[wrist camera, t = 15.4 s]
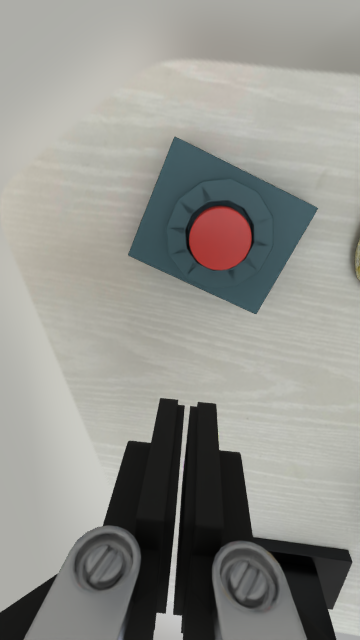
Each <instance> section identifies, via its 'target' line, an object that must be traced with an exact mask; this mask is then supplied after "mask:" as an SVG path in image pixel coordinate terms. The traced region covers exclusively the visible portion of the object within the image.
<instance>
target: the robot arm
mask: <svg viewBox="0 0 360 640" xmlns="http://www.w3.org/2000/svg"><path fill="white" fill-rule="evenodd" d="M184 408H185V406H184V405H178V400H174V399H164V398H160V402H159V407H158V412H157V416H156V421H155V426H154V431H153V436H152V441H151V443H146V442H137V441H128V443H127V446H126V449H125V453H124V456H123V460H122V463H121V466H120V470H119V473H118V476H117V480H116V483H115V487H114V490H113V493H112V497H111V500H110V504H109V507H108V510H107V514H106V517H105V520H104V524H103V526H102V527H97V528H95V529H93V530H90V531H88V532H87V533H85V534H84V535H83V536H82V537H81V538H79V539H78V540H77V542H76V543H75V544H74V546H73V547H72V549H71V550H70V552H69V554H68V556H67V558H66V560H65V562H64V564H63V565H62V567H61V569H60V571H59V573H58V574H56V575H55V576H54V577H52V578H51V579H49V580H48V581H46V582H45V583H43V584H42V585H41V586H39V587H37V588H36V589H34V590H33V591H31V592H30V593H28V594H27V595H25V596H24V597H22V598H21V599H20V600H18V601H17V602H15V603H14V604H12V605H11V606H9V607H8V608H6V609H5V610H3V611H2V612H0V640H153V634H154V630H155V621H156V613H166V606H167V596H168V586H169V576H170V567H171V557H172V547H173V537H174V527H175V516H176V505H177V493H178V481H179V469H180V457H181V444H182V432H183V420H184ZM173 614H174V615H182V627H181V633H183V640H330V639H329V638H328V637H327V636H326V635H325V634H324V633H323V632H322V631H321V630H320V629H319V628H318V627H317V626H316V625H315V624H314V623H313V622H312V621H311V620H310V619H309V618H308V617H307V616H306V615H305V614H304V613H303V612H302V611H301V610H300V609H299V608H298V607H297V606H296V605H295V603H294V601H293V598H292V595H291V592H290V589H289V586H288V583H287V580H286V578H285V575H284V573H283V571H282V569H281V567H280V565H279V563H278V562H277V560H276V559H275V558H274V557H273V556H272V555H271V553H269V552H268V551H267V550H265V549H264V548H263V547H261V546H259V545H257V544H255V543H254V542H253V535H252V528H251V521H250V514H249V507H248V500H247V493H246V486H245V479H244V473H243V466H242V459H241V454H240V452H231V451H221V450H219V441H218V425H217V409H216V404H213V403H203V402H198V404H197V407H194V406H190V414H189V424H188V433H187V442H186V452H185V461H184V471H183V481H182V494H181V508H180V523H179V537H178V552H177V566H176V580H175V595H174V609H173Z"/></svg>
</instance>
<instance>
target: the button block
mask: <svg viewBox="0 0 360 640" xmlns="http://www.w3.org/2000/svg"><path fill="white" fill-rule="evenodd" d="M213 206H228V207H231V208H233V209H235V210H237V211H238V212H239V213H240V214H241V215H242V216H243V217H244V218H245V219H246V220H247V222H248V224H249V226H250V229H251V235H252V241H251V246H250V249H249V252H248V254H247V255H246V257H245V258H244V259H243V260H242V261H241V262H240V263H239V264H238V265H236V266H234V267H232V268H230V269H226V270H213V269H209V268H207V267H205V266H203V265H202V264H200V263H199V262H198V261H197V260H196V258H195V257H194V255H193V254H192V251H191V249H190V244H189V236H190V231H191V228H192V225H193V223H194V221H195V219H196V218H197V217H198V216H199V214H200V213H202V212H203V211H204V210H206V209H208V208H210V207H213ZM317 209H318V208H317V207H315V206H313V205H311V204H309V203H307V202H305V201H303V200H301V199H299V198H297V197H295V196H293V195H291V194H289V193H287V192H285V191H283V190H281V189H279V188H277V187H275V186H273V185H271V184H269V183H267V182H265V181H263V180H261V179H259V178H257V177H255V176H253V175H251V174H249V173H247V172H245V171H243V170H241V169H239V168H237V167H235V166H233V165H231V164H229V163H227V162H225V161H223V160H221V159H219V158H217V157H215V156H213V155H211V154H209V153H207V152H205V151H203V150H201V149H199V148H197V147H195V146H193V145H191V144H189V143H187V142H185V141H183V140H181V139H179V138H177V137H174V139H173V142H172V144H171V147H170V149H169V152H168V154H167V157H166V160H165V162H164V165H163V167H162V170H161V172H160V175H159V177H158V180H157V182H156V185H155V188H154V190H153V193H152V195H151V198H150V200H149V203H148V205H147V208H146V211H145V213H144V216H143V218H142V221H141V223H140V226H139V228H138V231H137V233H136V236H135V239H134V241H133V244H132V246H131V249H130V251H129V254H128V255H129V256H131V257H133V258H135V259H137V260H139V261H141V262H144V263H146V264H148V265H150V266H152V267H154V268H157V269H159V270H161V271H163V272H165V273H167V274H170V275H172V276H174V277H176V278H178V279H180V280H183V281H185V282H187V283H189V284H191V285H193V286H196V287H198V288H200V289H202V290H204V291H206V292H209V293H211V294H213V295H215V296H217V297H219V298H222V299H224V300H226V301H228V302H230V303H232V304H235V305H237V306H239V307H241V308H243V309H245V310H248V311H250V312H252V313H254V314H257V312H258V310H259V308H260V307H261V305H262V303H263V302H264V300H265V298H266V297H267V295H268V293H269V291H270V290H271V288H272V286H273V285H274V283H275V281H276V279H277V278H278V276H279V274H280V273H281V271H282V269H283V268H284V266H285V264H286V262H287V261H288V259H289V257H290V256H291V254H292V252H293V250H294V249H295V247H296V245H297V244H298V242H299V240H300V238H301V237H302V235H303V233H304V232H305V230H306V228H307V227H308V225H309V223H310V221H311V220H312V218H313V216H314V215H315V213H316V211H317Z"/></svg>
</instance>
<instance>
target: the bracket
mask: <svg viewBox="0 0 360 640" xmlns="http://www.w3.org/2000/svg"><path fill="white" fill-rule="evenodd" d="M253 542H254V543H255V544H257V545H259V546H261V547H263V548H264V549H265V550H267V551H268V552H269V553H271V555H272V556H273V557H274V558H275V559H276V560H277V562H278V563H279V565H280V567H281V569H282V571H283V573H284V575H285V578H286V580H287V583H288V586H289V589H290V592H291V595H292V598H293V601H294V603H295V605H296V606H297V607H298V608H299V609H300V610H301V611H302V612H303V613H304V614H305V615H306V616H307V617H308V618H309V619H310V620H311V621H312V622H313V623H314V624H315V625H316V626H317V627H318V628H319V629H320V630H321V631H322V632H323V633H324V634H325V635H326V636H327V637H328V638H329V639H330V640H336V637H335V633H334V629H333V626H332V622H331V619H330V615H329V612H328V609H333V607H334V605H335V602H336V600H337V598H338V595H339V593H340V590H341V588H342V586H343V583H344V581H345V579H346V576H347V574H348V571H349V569H350V567H351V564H352V559H351V557H350V554H349V551H348V550H341V549H334V548H326V547H319V546H312V545H304V544H297V543H290V542H282V541H275V540H267V539H260V538H253Z"/></svg>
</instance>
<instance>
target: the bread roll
mask: <svg viewBox="0 0 360 640" xmlns="http://www.w3.org/2000/svg"><path fill="white" fill-rule="evenodd" d="M355 269H356V275H357V278H358V279H359V281H360V239H359V242H358V244H357V248H356V253H355Z"/></svg>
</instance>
